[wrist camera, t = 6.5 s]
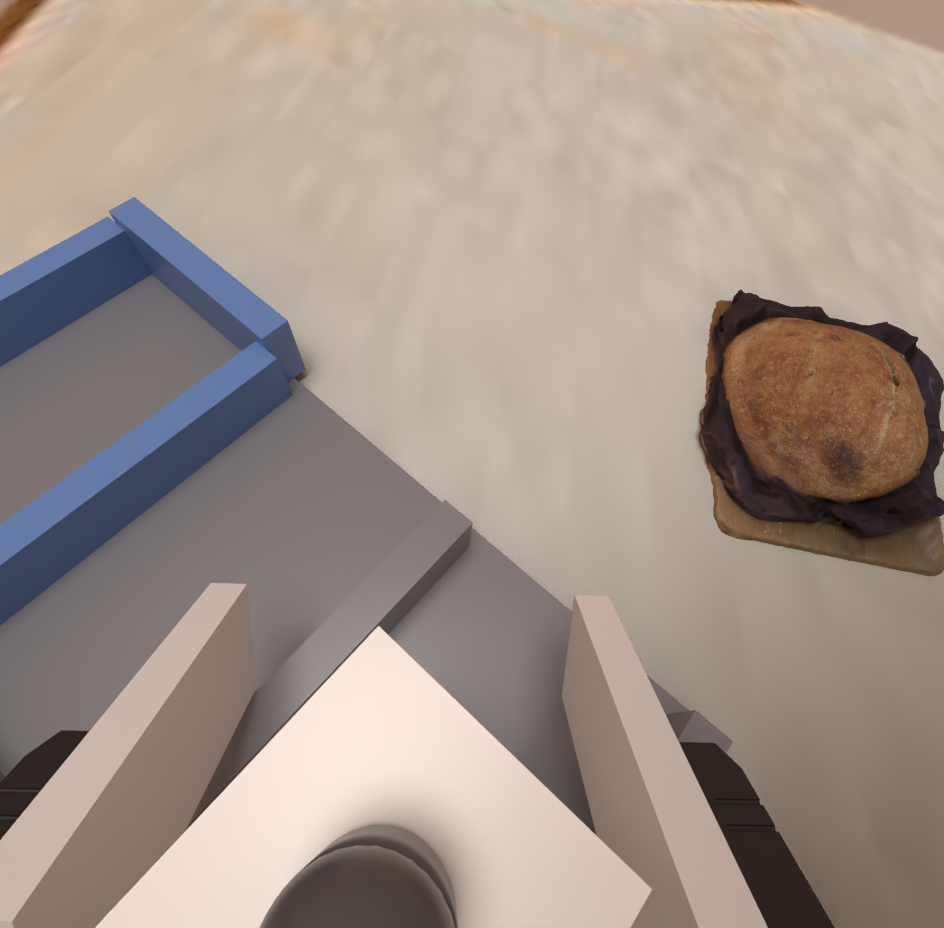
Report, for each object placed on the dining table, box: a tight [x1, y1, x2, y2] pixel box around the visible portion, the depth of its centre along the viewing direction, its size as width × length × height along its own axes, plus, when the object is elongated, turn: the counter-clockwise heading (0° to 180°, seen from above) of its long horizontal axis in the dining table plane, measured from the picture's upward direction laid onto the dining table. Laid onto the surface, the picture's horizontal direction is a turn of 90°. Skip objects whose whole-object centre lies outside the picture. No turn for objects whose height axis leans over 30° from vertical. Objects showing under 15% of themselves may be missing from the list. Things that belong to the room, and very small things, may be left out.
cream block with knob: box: [95, 626, 652, 928], centre depth 8 cm, size 4×4×11 cm
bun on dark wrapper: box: [700, 290, 944, 576], centre depth 19 cm, size 11×8×4 cm
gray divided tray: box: [0, 197, 733, 836], centre depth 15 cm, size 14×25×3 cm, turn 49°
